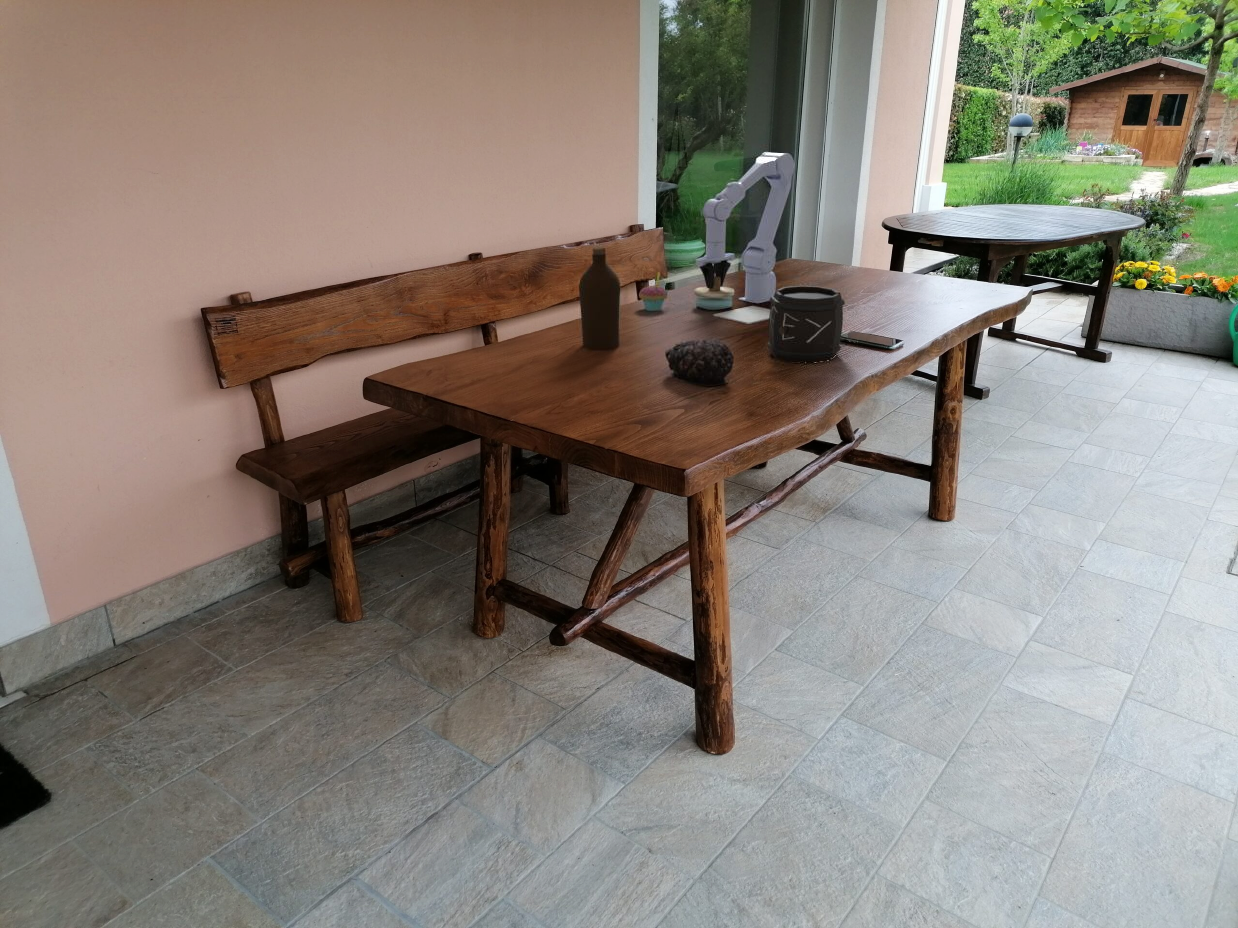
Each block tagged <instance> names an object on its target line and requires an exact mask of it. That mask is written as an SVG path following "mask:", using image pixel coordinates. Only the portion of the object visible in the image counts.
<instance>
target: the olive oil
mask: <svg viewBox="0 0 1238 928" xmlns="http://www.w3.org/2000/svg"><path fill="white" fill-rule="evenodd" d="M591 255H592V257H591V259H592V263H591V265H590V266H589V267H588V268H587V269H586V271H585V272H584V273H583V274H582V276H581V277H580V279H579V280H580V281H579V283H578V284H579V285H578V293H579V294H578V297H579V305H580V307H579V308H580V318H581V319H580V320H581V334H582V335H581V336H582V346H583V347H584V348H585V349H587V350H593V351H607V350H613V349H616V348H618V347H619V345H620V318H621V317H620V316H621V315H620V314H621V313H620V312H621V289H622V288H621V287H622V286H621V282H620V279H619V277H618V276H617V274H616V273H615V272H614V271H613V269H612V268H611V267H610V266H609V265H608V264H607V254H606V248H605V247H603V246H602V247H601V246H600V247H593V248H592V254H591Z"/></svg>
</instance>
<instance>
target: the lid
mask: <svg viewBox="0 0 1238 928" xmlns="http://www.w3.org/2000/svg"><path fill="white" fill-rule="evenodd" d="M720 283H721V277H720V276H714V286H713V289H710V288H707V287H706V286H701V287H696V288H695V289H694V295H695V296H696V297H697V296H700V297H707V298H723V297H729V296H731V297H732V296H734V295H735V289H734V288H732V287H727V286H722V287H720Z"/></svg>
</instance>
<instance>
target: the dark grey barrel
mask: <svg viewBox="0 0 1238 928" xmlns="http://www.w3.org/2000/svg"><path fill="white" fill-rule="evenodd" d="M841 294H842V293H841V292H839V291H838V290H836V289H834V288H829V287H825V286H818V285H817V286H816V285H794V286H793V285H792V286H785V287H784V286H783V287H780V288H778V289H776V290H775V294H774V296H772V297H770V300H769V301H768V302H769V303H771V305H770V315H769V319H768V337H769V338H768V340H769V341H768V342H767V343H766V344H767V348H768V349H769V350H770V353H771V355H772V354H773V355H772V356H773V358H774V359H776V358H777V359H776V360H779V359H780V361H783V360H784V361H783V362H786V361H787V363H790V362H796V363H795V364H798V363H797V362H800V363H799V364H804V363H805V362H806V363H814V362H820V361H827V360H830V359H831V358H833V357H834V356H835V355H836V356H837V353H838V352H840V351H841V349H842V347H841V345H840V343H841V337H842V334H843V333H842V332H843V320H844V317H843V316H844V312H843V306H844V305H845V304H846V302H845V299H843V298H842V295H841ZM833 359H834V358H833ZM830 361H831V360H830Z"/></svg>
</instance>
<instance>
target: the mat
mask: <svg viewBox="0 0 1238 928" xmlns="http://www.w3.org/2000/svg"><path fill="white" fill-rule="evenodd" d="M770 309H771V308H770ZM770 309H769V308H765V307H760V306H756V305H750V306H745V307H741V308H736V309H732V310H731V309H730V310H727V311H723V312H719V313H713V314H712V316H713V317H716V318H721V319H725V320H729V321H734V322H737V323H743V324H746V325H750V324H755V323H756V324H757V323H759V322H764V321H769V315H770Z"/></svg>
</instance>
